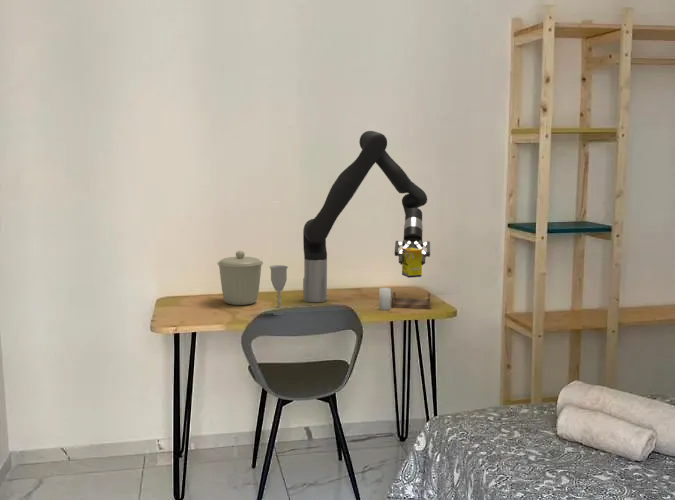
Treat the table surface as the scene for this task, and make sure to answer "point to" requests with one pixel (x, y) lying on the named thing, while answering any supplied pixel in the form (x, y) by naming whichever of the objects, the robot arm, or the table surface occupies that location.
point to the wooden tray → (410, 302)
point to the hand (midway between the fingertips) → (411, 263)
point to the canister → (240, 279)
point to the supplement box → (411, 262)
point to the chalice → (278, 279)
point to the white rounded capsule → (384, 298)
